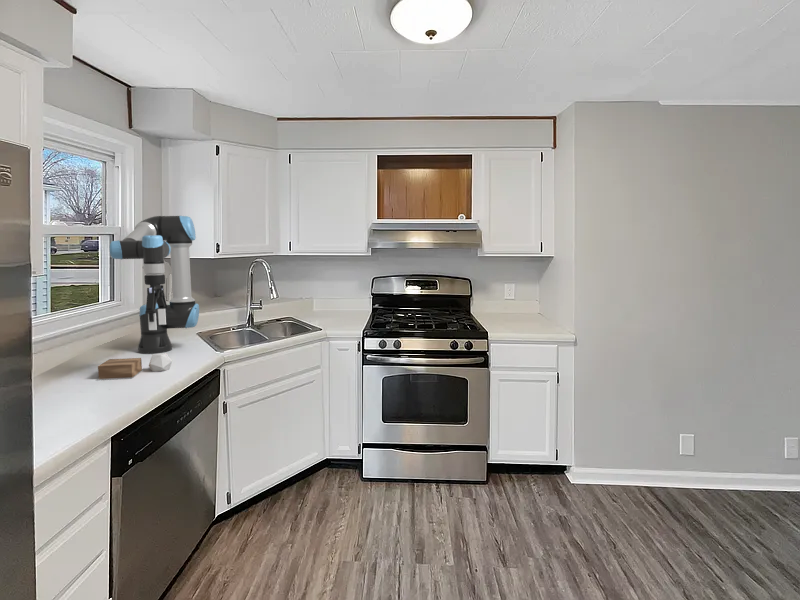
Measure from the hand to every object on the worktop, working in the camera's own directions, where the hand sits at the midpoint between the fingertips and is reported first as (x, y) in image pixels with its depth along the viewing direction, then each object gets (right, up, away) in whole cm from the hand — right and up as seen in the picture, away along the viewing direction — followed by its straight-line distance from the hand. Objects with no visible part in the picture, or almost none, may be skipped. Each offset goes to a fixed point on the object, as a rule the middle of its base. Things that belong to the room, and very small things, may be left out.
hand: (157, 327), depth 220 cm
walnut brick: (-12, -18, -5) cm, 23 cm away
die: (0, -19, +2) cm, 19 cm away
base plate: (-12, -20, -5) cm, 24 cm away
